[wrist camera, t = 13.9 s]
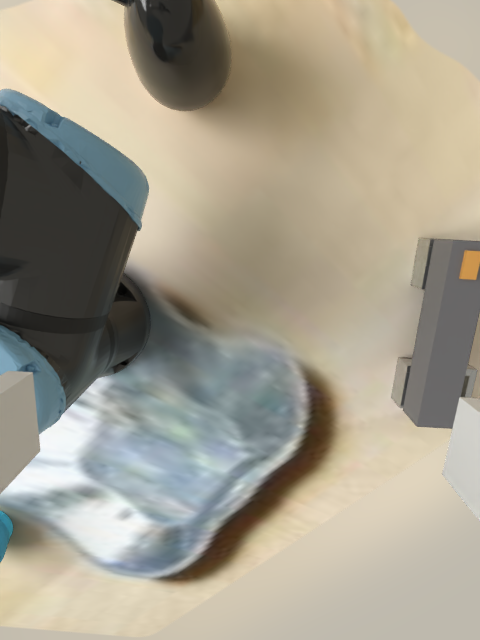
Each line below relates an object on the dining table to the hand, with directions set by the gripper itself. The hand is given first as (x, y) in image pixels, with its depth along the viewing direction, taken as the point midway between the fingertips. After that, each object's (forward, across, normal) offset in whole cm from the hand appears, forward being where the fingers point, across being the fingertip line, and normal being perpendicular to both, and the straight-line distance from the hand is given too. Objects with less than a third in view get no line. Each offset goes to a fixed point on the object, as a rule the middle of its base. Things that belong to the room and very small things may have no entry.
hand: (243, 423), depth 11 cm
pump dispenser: (+37, -8, +23) cm, 44 cm away
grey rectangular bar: (+37, +24, -5) cm, 44 cm away
